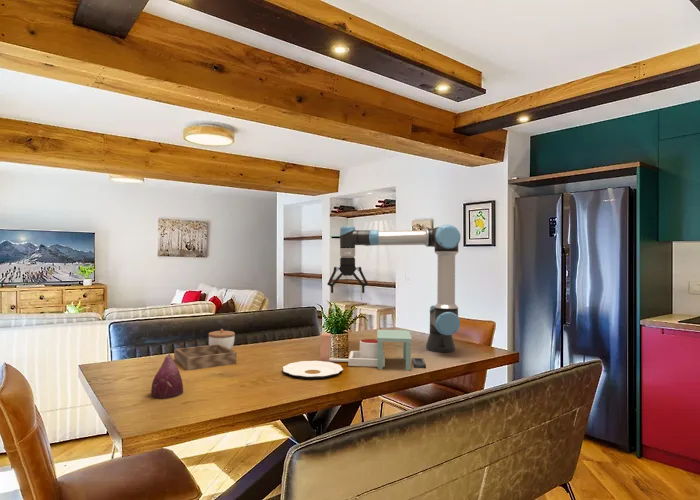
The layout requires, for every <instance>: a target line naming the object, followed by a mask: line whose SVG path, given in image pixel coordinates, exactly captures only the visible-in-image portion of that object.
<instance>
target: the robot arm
mask: <svg viewBox="0 0 700 500" xmlns="http://www.w3.org/2000/svg"><path fill="white" fill-rule="evenodd" d="M339 229H340V230H339V256H340V257H339V267H338V266H334V267H333V271H332V274H331V276H330V278H329V280H328V281H327V286H329V287H330V293H331V294H333V295H332V298H333V301H335V300H336V286H335V285H336V283H337V282H338V281H339V280H340V278H341V277H343V276H344V277H346V276H348V277H351V276H353V277H354V279H355V280H356V281H357V282H358V283H359V284H360V301H363V294H365V288H366V287H367V286H369V283H368V281H367V279H366V276H365V275H364V273H363V270H362V267H361V266H359V267H356V258H355V256H356V246H366V247H369V246H371V247H372V246H425V247H427V248H429V247H431V248H434V253H435V254H436V255H437V284H436V285H437V289H436V290H437V295H436V296H437V303H436V304H435V305H431V306H430V307H429V336H428V337H427V338H428V339H427V340H426V344H425V348H426V349H425V350H428V351H430V352H431V351H432V352H435V353H436V352H437V353H451V352H455V351H456V344H455V342H454V338H453V334H456V333H457V332H458V331H459V329H460V326H461V321H460V317H459V307H458V305H457V304H456V255H457V254H458V253H459V244H460V242H461V233H460V231H459V229H458V228H457V226H454V225H452V224H442V225H440V226H436V227H431V228H428V227H427V228H425V229H424V230H375V229H369V230H367V229H366V230H365V229H364V230H363V229H362V230H356V227H355V226H352V225H347V226H346V225H345V226H341V227H340V228H339ZM338 271H339V272H340V274H338V276H337V277H336V278H335V280H334V281H333V279H334V277H335V274H336V273H337V272H338ZM356 271H357V272H359V274H360V276H361V278H362V280H361V279H360V277H358V275H357V274H356V273H355V272H356ZM332 281H333V282H332Z"/></svg>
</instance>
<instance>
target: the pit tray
mask: <svg viewBox="0 0 700 500" xmlns="http://www.w3.org/2000/svg"><path fill="white" fill-rule="evenodd" d="M411 359H412V361H411V362H412V365H413V368H414V369H427V368H426V366H427V364H426V362H425V360H424V358H421V357H411Z"/></svg>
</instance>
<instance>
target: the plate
mask: <svg viewBox="0 0 700 500" xmlns="http://www.w3.org/2000/svg"><path fill="white" fill-rule="evenodd" d="M343 370H344V368H343V367H342V365H341V364H338V363H335V362H333V361H329V362H323V361H320V360H303V361H301V360H300V361H296V362H291V363H288V364H286V365H284V366H283V367H282V372H283V373H285V374H288V375H290V376H293V377H295V378H303V379H322V378H328V377H331V376H335V375H337V374H340V373H341V372H343ZM307 371H319V372H318V373H307Z"/></svg>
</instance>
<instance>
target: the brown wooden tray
mask: <svg viewBox="0 0 700 500" xmlns="http://www.w3.org/2000/svg"><path fill="white" fill-rule="evenodd" d="M173 361H174V362H176V363H177V364H179V365H180V366H181V367H183V368H185V369H186V370H187V371H193V370H201V369H207V368H208V369H209V368H215V367H223V366H228V365H236V364H237V352H236V351H234V350H233V349H232V348H231V349H229V348H226V347H224V346H222V345H220V344H216V345H210V344H208V345H198V346H191V347H190V346H189V347H180V348H175V349H174V355H173Z"/></svg>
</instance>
